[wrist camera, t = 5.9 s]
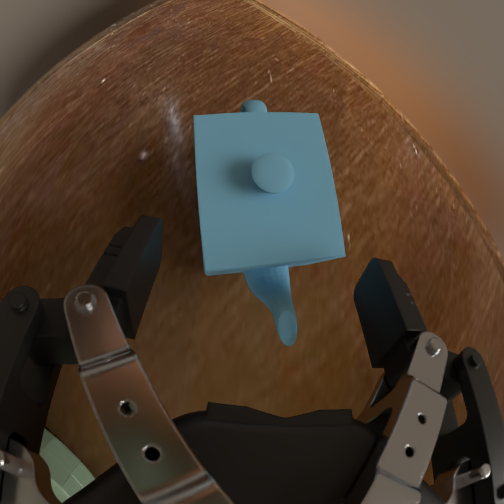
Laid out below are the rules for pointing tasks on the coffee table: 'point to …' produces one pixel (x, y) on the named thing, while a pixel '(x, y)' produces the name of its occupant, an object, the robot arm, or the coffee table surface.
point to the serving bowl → (63, 467)
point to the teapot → (265, 201)
